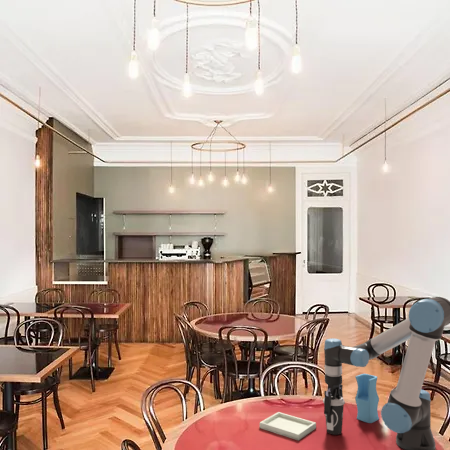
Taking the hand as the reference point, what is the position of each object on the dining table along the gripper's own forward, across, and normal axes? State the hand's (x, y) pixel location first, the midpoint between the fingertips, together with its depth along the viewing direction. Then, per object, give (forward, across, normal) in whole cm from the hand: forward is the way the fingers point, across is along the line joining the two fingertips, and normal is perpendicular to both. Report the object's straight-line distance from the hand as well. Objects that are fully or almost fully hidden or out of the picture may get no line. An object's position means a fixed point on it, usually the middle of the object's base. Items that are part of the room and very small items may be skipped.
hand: (334, 426), depth 199 cm
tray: (+2, +9, -18) cm, 21 cm away
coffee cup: (+2, 0, 0) cm, 2 cm away
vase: (+3, -24, +6) cm, 25 cm away
